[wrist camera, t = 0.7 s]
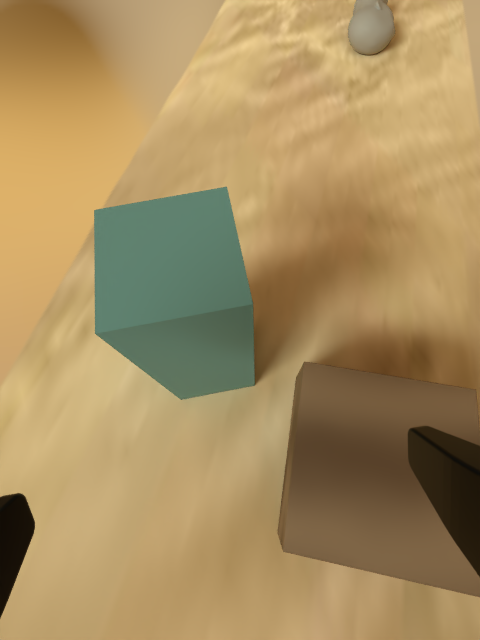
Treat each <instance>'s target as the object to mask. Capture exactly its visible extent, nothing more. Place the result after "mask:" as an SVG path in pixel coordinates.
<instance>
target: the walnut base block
mask: <svg viewBox="0 0 480 640" xmlns="http://www.w3.org/2000/svg"><path fill="white" fill-rule="evenodd" d="M419 426H430V427H433V428H435V429H438V430H440V431H443V432H446V433H448V434H451V435H453V436H456V437H459V438H461V439H464V440H467V441H469V442H472V443H474V444H477V445H480V428H479V417H478V406H477V396H476V390H474V389H468V388H462V387H456V386H450V385H444V384H438V383H432V382H426V381H420V380H413V379H407V378H401V377H395V376H389V375H383V374H377V373H371V372H365V371H359V370H353V369H346V368H340V367H334V366H328V365H322V364H316V363H310V362H304V363H303V365H302V367H301V369H300V371H299V373H298V375H297V377H296V383H295V392H294V400H293V408H292V417H291V425H290V433H289V442H288V450H287V459H286V467H285V475H284V484H283V492H282V500H281V509H280V517H279V525H278V536H279V539H280V543H281V546H282V550H283V552H287V553H291V554H296V555H300V556H304V557H309V558H313V559H317V560H322V561H326V562H330V563H334V564H339V565H343V566H347V567H352V568H356V569H360V570H365V571H369V572H373V573H378V574H382V575H386V576H391V577H395V578H399V579H403V580H408V581H412V582H416V583H421V584H425V585H429V586H434V587H438V588H442V589H447V590H451V591H455V592H460V593H464V594H468V595H473V596H477V597H480V577H479V576H478V574H477V573H476V571H475V570H474V569H473V567H472V566H471V564H470V563H469V562H468V560H467V559H466V557H465V556H464V554H463V553H462V552H461V550H460V549H459V547H458V546H457V544H456V543H455V542H454V540H453V539H452V537H451V536H450V534H449V532H448V531H447V529H446V528H445V526H444V524H443V523H442V521H441V519H440V517H439V516H438V514H437V512H436V511H435V509H434V507H433V505H432V504H431V502H430V500H429V498H428V497H427V495H426V493H425V492H424V490H423V488H422V486H421V485H420V483H419V481H418V480H417V478H416V476H415V474H414V473H413V471H412V469H411V467H410V464H409V461H408V430H409V429H410V428H413V427H419Z"/></svg>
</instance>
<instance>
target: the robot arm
mask: <svg viewBox="0 0 480 640" xmlns="http://www.w3.org/2000/svg"><path fill="white" fill-rule="evenodd" d="M408 461H409V464H410V467H411V469H412V471H413V473H414V474H415V476H416V478H417V480H418V481H419V483H420V485H421V486H422V488H423V490H424V492H425V493H426V495H427V497H428V498H429V500H430V502H431V504H432V505H433V507H434V509H435V511H436V512H437V514H438V516H439V517H440V519H441V521H442V523H443V524H444V526H445V528H446V529H447V531H448V532H449V534H450V536H451V537H452V539H453V540H454V542H455V543H456V544H457V546H458V547H459V549H460V550H461V552H462V553H463V554H464V556H465V557H466V559H467V560H468V562H469V563H470V564H471V566H472V567H473V569H474V570H475V571H476V573H477V574H478V576H479V577H480V445H477V444H474V443H472V442H469V441H467V440H464V439H461V438H459V437H456V436H453V435H451V434H448V433H446V432H443V431H440V430H438V429H435V428H433V427H430V426H419V427H413V428H410V429H409V430H408ZM34 529H35V521H34V518H33V516H32V513H31V510H30V508H29V505H28V502H27V500H26V497H25V496H24V495H23V494H21V493H17V494H11V495H5V496H2V497H0V618H1V616H2V613H3V611H4V608H5V606H6V604H7V601H8V599H9V596H10V594H11V591H12V588H13V586H14V583H15V581H16V578H17V575H18V573H19V570H20V568H21V565H22V562H23V560H24V557H25V555H26V552H27V549H28V547H29V544H30V542H31V539H32V537H33V534H34Z"/></svg>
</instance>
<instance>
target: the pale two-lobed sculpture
mask: <svg viewBox="0 0 480 640" xmlns="http://www.w3.org/2000/svg"><path fill="white" fill-rule="evenodd" d="M387 2H388V0H356V2H355V5H354V10H353V17H352V18H351V20H350V23H349V27H348V38H349V42H350V44H351V46H352V47H353V49H354V50H355V51H357V52H358V53H361V54H365V55H372V54H376V53H378V52H380V51H382V50H383V49H384V48H385V47H386V46H387V45H388V44H389V42H390V40H391V39H392V37H393V36H394V34H395V27H394V22H393V20H394V17H393V13H392V11H391V9H390V8H389V7H388V6H387Z"/></svg>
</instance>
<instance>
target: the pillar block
mask: <svg viewBox="0 0 480 640" xmlns="http://www.w3.org/2000/svg"><path fill="white" fill-rule="evenodd" d="M94 231H95V334H96V335H97V336H99V337H100V338H101V339H103V340H104V341H105V342H107V343H108V344H109V345H110V346H112V347H113V348H114V349H116V350H117V351H118V352H120V353H121V354H122V355H123V356H125V357H126V358H127V359H129V360H130V361H131V362H133V363H134V364H135V365H136V366H138V367H139V368H140V369H142V370H143V371H144V372H146V373H147V374H148V375H150V376H151V377H152V378H153V379H155V380H156V381H157V382H159V383H160V384H161V385H163V386H164V387H165V388H166V389H168V390H169V391H170V392H172V393H173V394H174V395H176V396H177V397H178V398H179V399H181V400H182V399H188V398H193V397H198V396H203V395H208V394H213V393H218V392H224V391H229V390H234V389H239V388H244V387H249V386H254V385H255V375H254V324H253V301H252V297H251V292H250V288H249V283H248V279H247V275H246V270H245V266H244V261H243V257H242V252H241V248H240V243H239V239H238V234H237V230H236V226H235V221H234V217H233V212H232V208H231V203H230V199H229V194H228V190H227V187H223V188H217V189H211V190H206V191H200V192H194V193H189V194H183V195H177V196H172V197H166V198H160V199H154V200H149V201H143V202H137V203H132V204H126V205H120V206H115V207H109V208H103V209H98V210H95V211H94Z"/></svg>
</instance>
